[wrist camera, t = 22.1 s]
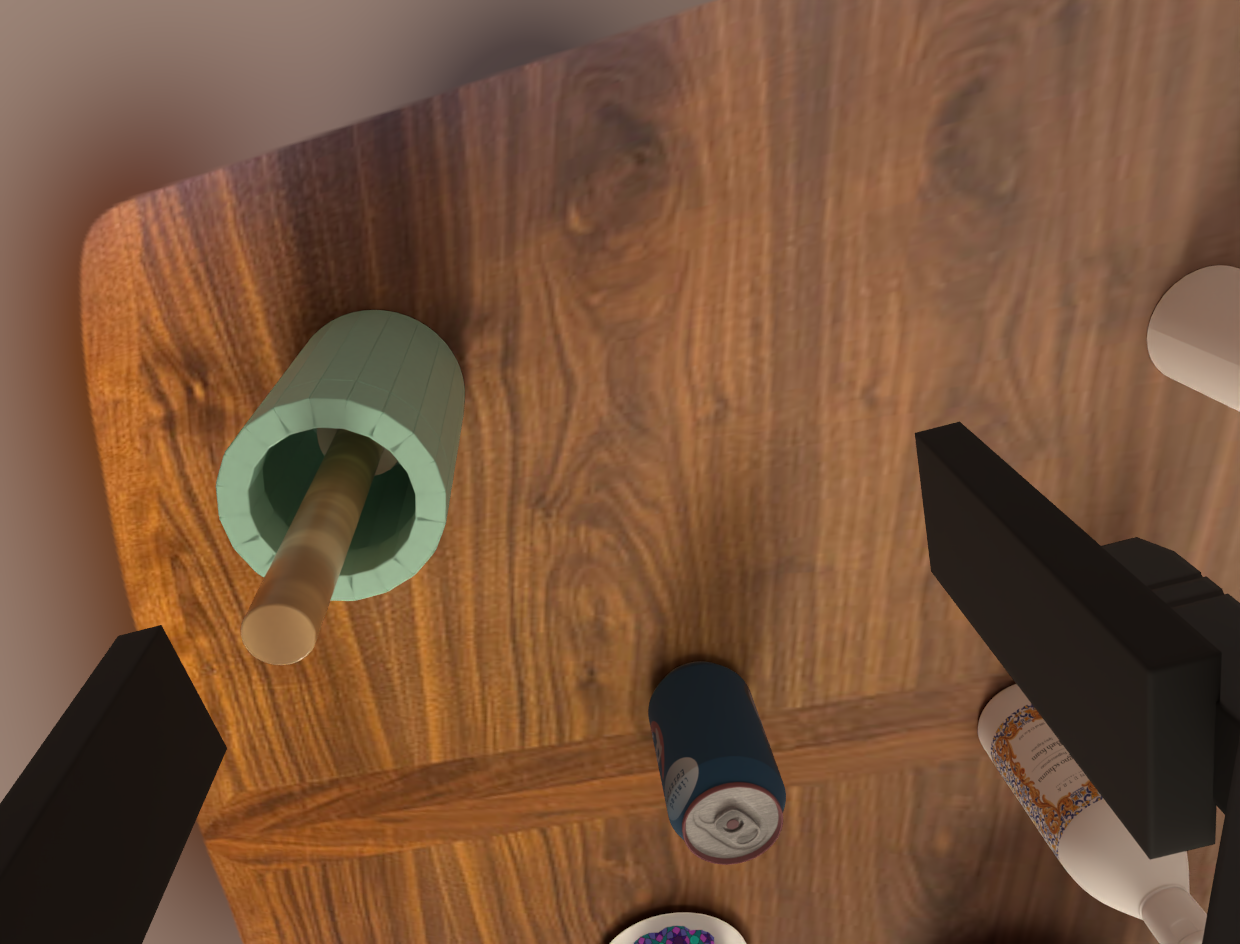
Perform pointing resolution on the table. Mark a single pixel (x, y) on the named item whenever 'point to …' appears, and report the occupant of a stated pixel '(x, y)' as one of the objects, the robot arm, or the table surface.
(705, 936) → the pudding
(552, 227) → the table surface
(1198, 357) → the cylindrical container
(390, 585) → the green faceted hollow cylinder
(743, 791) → the soda can
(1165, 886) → the bath foam
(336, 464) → the wooden dowel
